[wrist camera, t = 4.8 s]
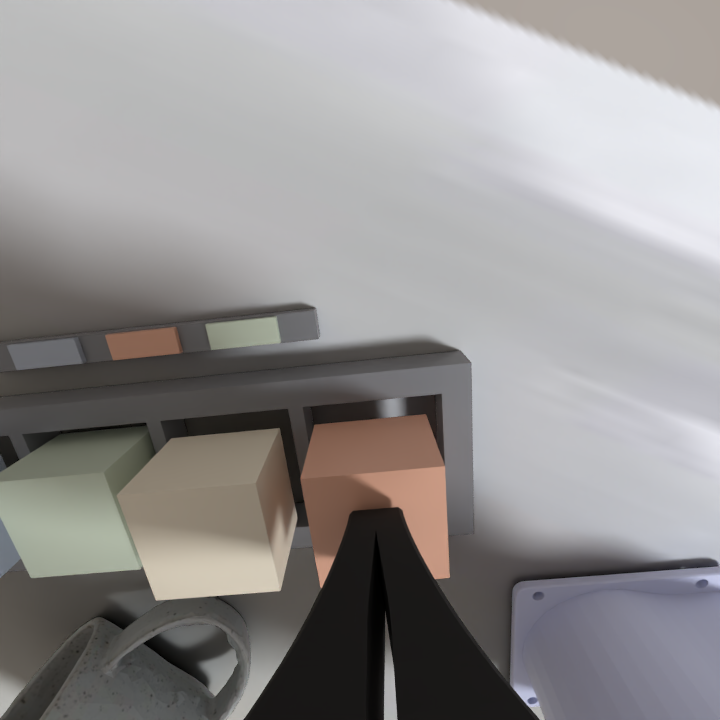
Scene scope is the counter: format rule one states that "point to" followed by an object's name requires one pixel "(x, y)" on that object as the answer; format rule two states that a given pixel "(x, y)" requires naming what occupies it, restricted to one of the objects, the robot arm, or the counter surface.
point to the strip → (159, 340)
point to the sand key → (213, 515)
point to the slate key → (6, 543)
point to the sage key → (74, 502)
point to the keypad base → (263, 393)
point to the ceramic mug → (134, 671)
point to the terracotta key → (376, 484)
